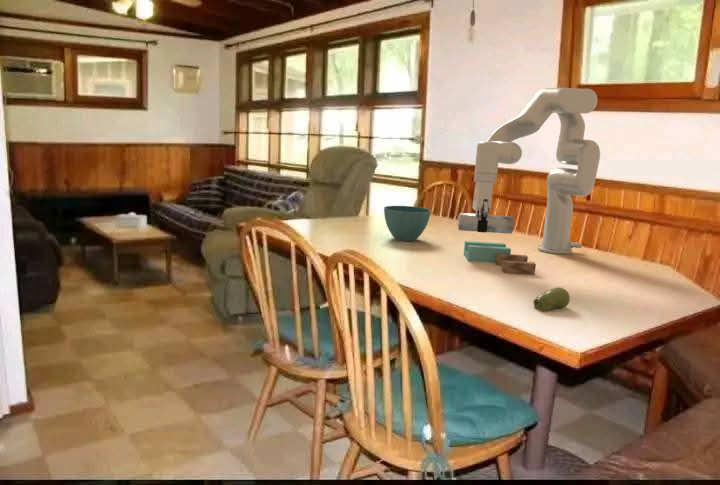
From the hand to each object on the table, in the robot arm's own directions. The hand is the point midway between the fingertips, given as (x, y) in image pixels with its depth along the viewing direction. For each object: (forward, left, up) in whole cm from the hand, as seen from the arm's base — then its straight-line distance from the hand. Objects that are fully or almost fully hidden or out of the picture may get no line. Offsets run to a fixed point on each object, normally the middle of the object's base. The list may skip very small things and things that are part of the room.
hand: (480, 229), depth 203 cm
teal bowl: (+24, -28, -10) cm, 38 cm away
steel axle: (-2, 0, +2) cm, 3 cm away
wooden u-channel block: (-10, +13, -10) cm, 19 cm away
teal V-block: (-3, 0, -10) cm, 11 cm away
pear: (-10, +55, -10) cm, 57 cm away
